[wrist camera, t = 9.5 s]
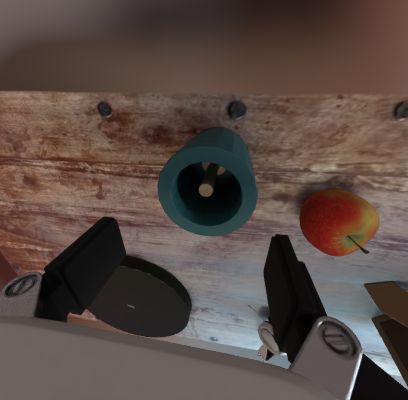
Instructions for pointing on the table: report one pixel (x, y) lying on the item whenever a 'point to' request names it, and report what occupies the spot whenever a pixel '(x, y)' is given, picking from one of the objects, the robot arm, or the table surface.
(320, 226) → the apple
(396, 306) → the photo frame
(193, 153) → the jar
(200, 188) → the rod on round base
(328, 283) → the table surface
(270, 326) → the headphones
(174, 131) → the table surface
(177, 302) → the disc
